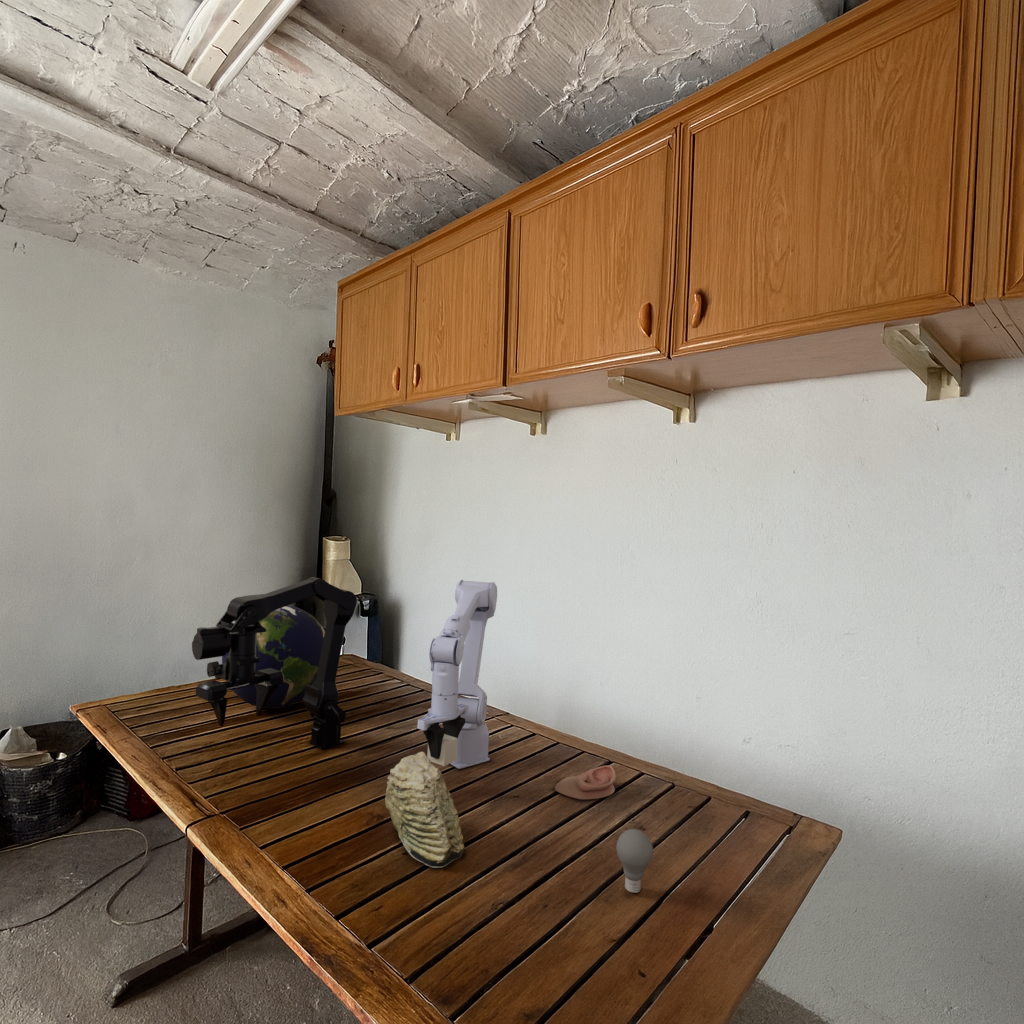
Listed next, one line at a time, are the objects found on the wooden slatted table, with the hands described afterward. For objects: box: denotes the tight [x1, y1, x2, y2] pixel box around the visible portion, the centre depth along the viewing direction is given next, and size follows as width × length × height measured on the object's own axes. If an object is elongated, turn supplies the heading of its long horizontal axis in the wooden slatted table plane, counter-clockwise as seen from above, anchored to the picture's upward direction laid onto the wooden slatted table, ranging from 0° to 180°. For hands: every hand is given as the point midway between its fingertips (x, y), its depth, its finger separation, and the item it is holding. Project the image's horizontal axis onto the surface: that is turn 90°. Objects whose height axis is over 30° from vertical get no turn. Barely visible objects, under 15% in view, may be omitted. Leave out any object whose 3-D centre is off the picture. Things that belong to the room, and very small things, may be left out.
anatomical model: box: [554, 765, 617, 800], centre depth 143 cm, size 13×4×12 cm
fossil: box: [384, 751, 466, 869], centre depth 117 cm, size 9×18×15 cm, turn 46°
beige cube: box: [426, 734, 457, 767], centre depth 138 cm, size 4×5×5 cm
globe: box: [221, 605, 325, 709], centre depth 188 cm, size 30×30×30 cm
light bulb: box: [615, 828, 654, 894], centre depth 106 cm, size 6×6×10 cm
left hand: (240, 720), depth 145 cm, fingers open, 9 cm apart
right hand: (442, 753), depth 138 cm, fingers closed on beige cube, 4 cm apart
